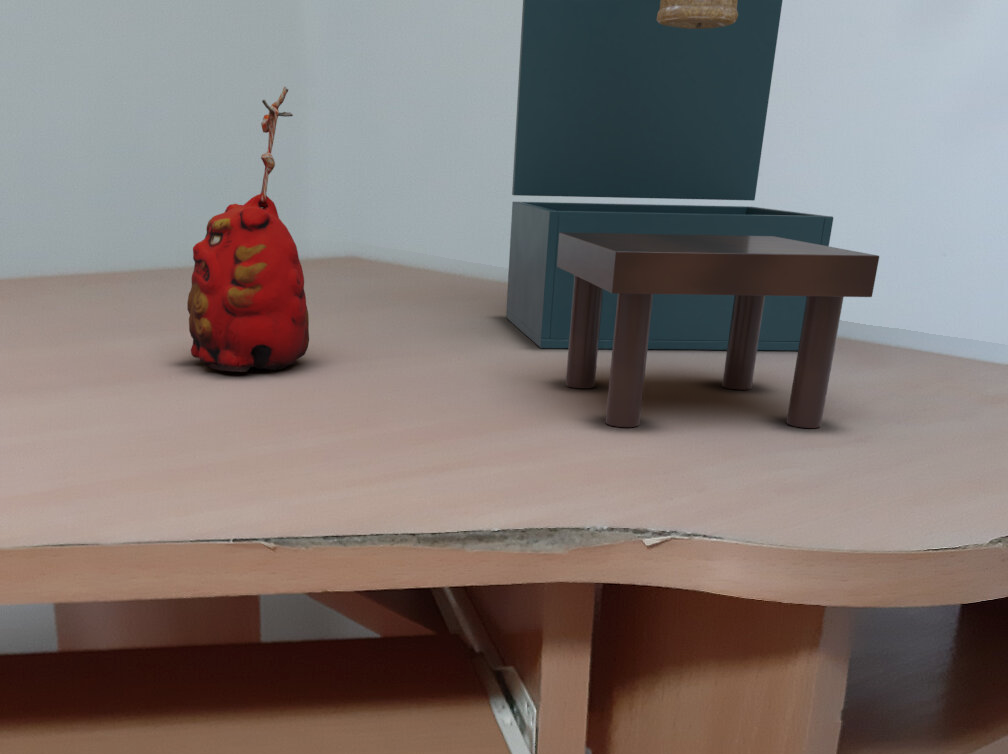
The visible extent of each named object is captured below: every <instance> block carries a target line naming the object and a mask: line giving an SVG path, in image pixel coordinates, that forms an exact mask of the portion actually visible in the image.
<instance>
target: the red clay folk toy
mask: <svg viewBox="0 0 1008 754" xmlns="http://www.w3.org/2000/svg"><path fill="white" fill-rule="evenodd" d="M288 92H289V88H287V87H286V86H283V88H282V91H281V93H280V95H279V97H278V99H277V100H276V101H275V102H273V103H271V105H269V104H268V102H267V100H266V99H262V101H261V102H262V104H263V105H264V107H265V108H266V109H267V110H268V114H265V115H264V116H263V118H262V121H261V123H260V125H261V129H262V133H265V134H268V144H267V145H268V146H267V151H266V152H265V153H263V154H261V156H260V159H261V161H262V163H263V165H264V173H263V178H262V184H261V190H260V193H259V194H256V195H254V196H252V197H251V198H250V199H249V200H248V201H246V202H245V203H244V204H238V203H232V204H228V206H226V208H225V210H224V212H222V213H219V214H215V215H213V216H212V217H211V218H210V219H209V220H208V221H207V225H206V234H205V235H204V236H205V237H204V238H203V240H201V241H199V242H197V243H195V244H194V245H193V247H192V254H193V255H192V260H193V262H194V266H193V272H192V274H191V287H190V291H189V293H188V295H187V296H188V297H187V301H186V302H187V303H186V305H187V306H186V307H187V309H186V310H187V312H188V314H189V317H188V332H189V334H190V338H191V339H192V345H191V347H190V355H191V356H192V357H193V358H196V359H199V361H200V363H203V364H204V365H205V366H206V367H208V368H210V369H212V370H216V371H225V372H236V373H237V372H238V373H247V372H248V371H249V370H250V369H251V368H254V367H255V368H256V369H257V370H270V371H278V370H284V369H285V368H288V367H289V366H291V365H293V364H294V363H295V362H296V361H297V360H298V359H301V358H302V357H304V356H305V355H306V353H307V350H308V348H309V343H310V330H309V328H310V326H309V325H310V323H309V322H310V321H309V310H308V306H307V297H306V291H305V276H304V272H303V266H302V263H301V260H300V258H299V251H298V247H297V244H296V242H295V241H294V238H293V236H292V235H291V233H290V231H289V229H288V227H287V225H285V224H284V222H283V221H282V219H280V216H279V213H278V210H277V207H276V204H275V202H274V201H273V200H272V199H271V198H270V197H269V196H268V195H267V192H268V183H269V175H270V174H271V173H272V172H273V170H274V168H275V166H276V162H275V159H274V156H273V154H272V151H273V147H274V146H273V145H274V140H275V136H276V129H277V123H278V118H279V117H287V118H288V117H293V116H294V114H293V113H292V112H288V111H283V112H279V111H280V110H279V108H280V106H281V105H282V104H283V103H284V101H285V99H286V96H287V94H288Z"/></svg>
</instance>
